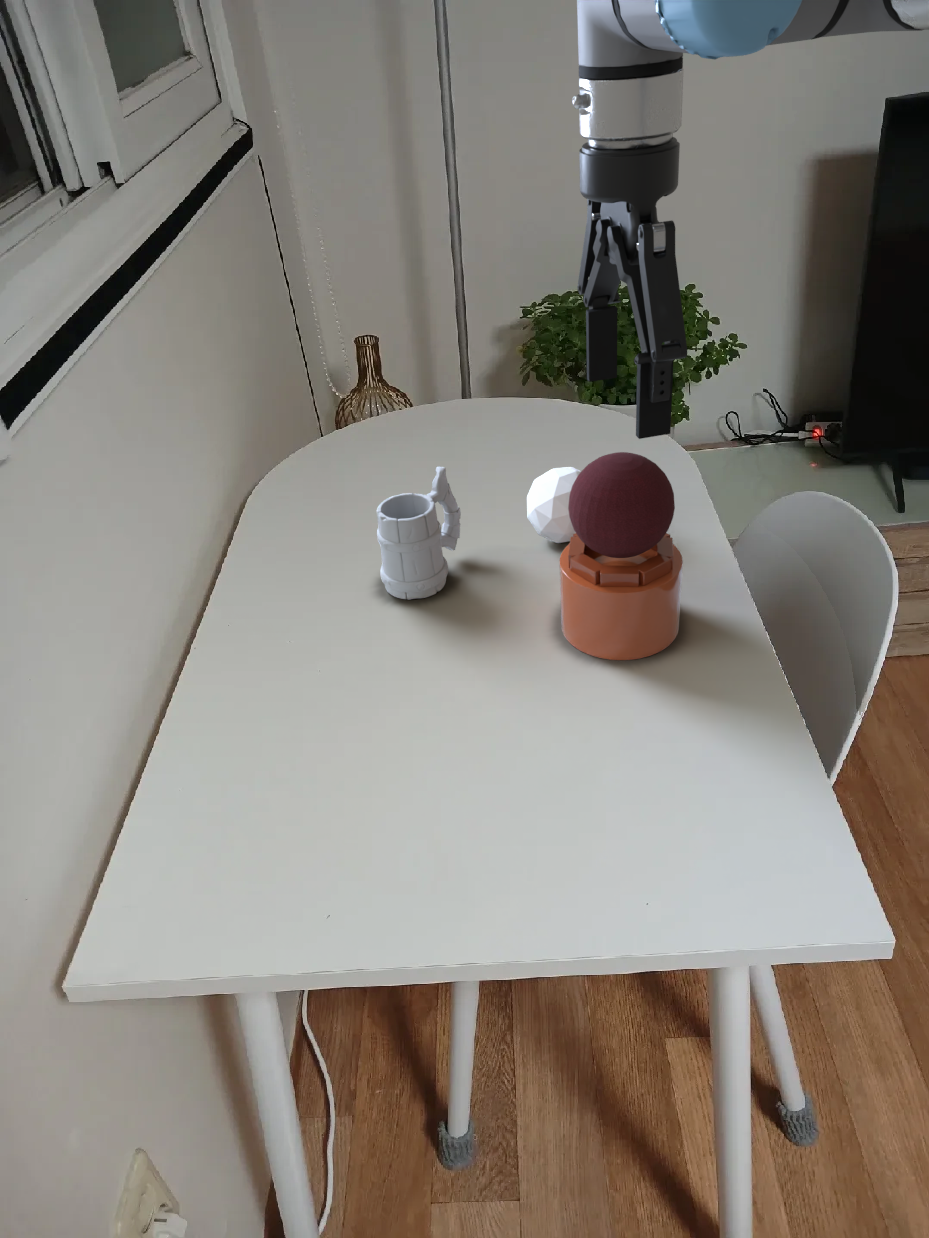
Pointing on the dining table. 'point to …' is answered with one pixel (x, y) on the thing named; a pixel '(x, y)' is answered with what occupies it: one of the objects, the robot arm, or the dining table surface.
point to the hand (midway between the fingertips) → (625, 405)
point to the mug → (417, 539)
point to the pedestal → (620, 600)
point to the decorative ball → (621, 505)
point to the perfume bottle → (552, 504)
